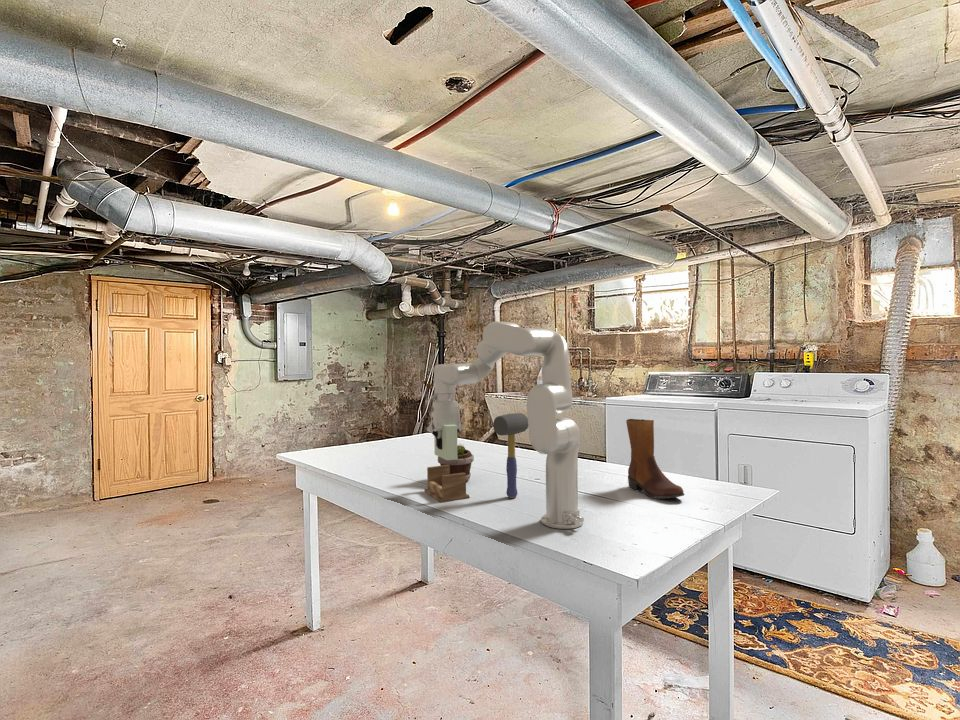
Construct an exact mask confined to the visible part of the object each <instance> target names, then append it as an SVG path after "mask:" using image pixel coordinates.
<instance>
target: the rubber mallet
mask: <svg viewBox="0 0 960 720" xmlns="http://www.w3.org/2000/svg"><path fill="white" fill-rule="evenodd" d="M492 423H493V424H492V425H493V426H492V427H493V431H494V432H495V434H496V435H497V436H501V437H502V436H507V458H506V476H507V477H506V478H507V482H506V485H507V487H506V496H507V497H508V498H509V499H516V498H517V496H518V489H517V473H518V468H517V467H518V465H517V459H516V442H515V441H516V440H515V439H516V438H515V435H517V434H520V433H525V432H526V431H527V429H529V428H528V417H527V415H526V414H524V413H522V412H520V413H519V412H517V413H516V412H515V413H507V414H502V415H499V416H497V417H495V418H494V420H493V422H492Z"/></svg>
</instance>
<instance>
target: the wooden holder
mask: <svg viewBox="0 0 960 720" xmlns="http://www.w3.org/2000/svg"><path fill="white" fill-rule="evenodd" d="M426 469H427V470H426V471H427V474H426V475H427V488H424V493H426V494H428V495H429V496H430V497H431V498H433V499H435V500H437V501H438V502H439V503H447V502H453V501H458V500H459V501H460V500H461V501H462V500H466V499H470V495H469V494H468V493H467V482H466V473H457V474H450V465H442V466H440V465H435V466H427V468H426Z"/></svg>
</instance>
